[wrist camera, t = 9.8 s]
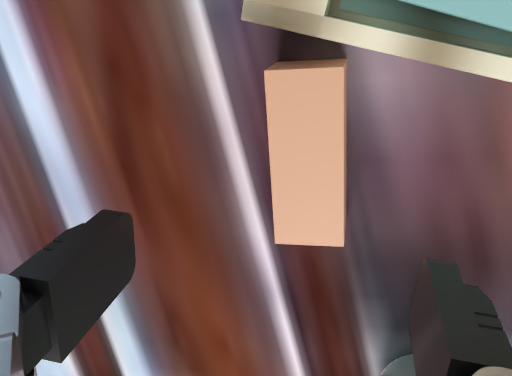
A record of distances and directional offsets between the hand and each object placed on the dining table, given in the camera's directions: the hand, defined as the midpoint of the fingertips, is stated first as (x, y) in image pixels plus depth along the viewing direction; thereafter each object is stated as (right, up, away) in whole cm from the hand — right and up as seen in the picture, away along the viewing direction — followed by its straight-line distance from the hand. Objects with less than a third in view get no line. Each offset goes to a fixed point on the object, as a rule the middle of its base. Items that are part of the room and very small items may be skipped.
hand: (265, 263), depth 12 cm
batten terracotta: (+3, +5, +15) cm, 17 cm away
